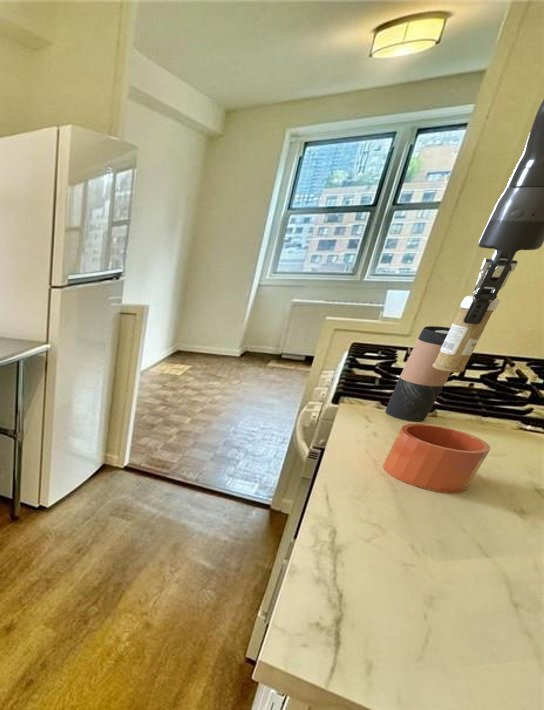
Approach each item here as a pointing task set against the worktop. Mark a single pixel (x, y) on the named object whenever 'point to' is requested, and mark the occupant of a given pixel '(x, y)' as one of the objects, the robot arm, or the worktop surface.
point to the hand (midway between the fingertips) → (471, 320)
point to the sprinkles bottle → (462, 339)
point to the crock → (435, 457)
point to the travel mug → (420, 378)
